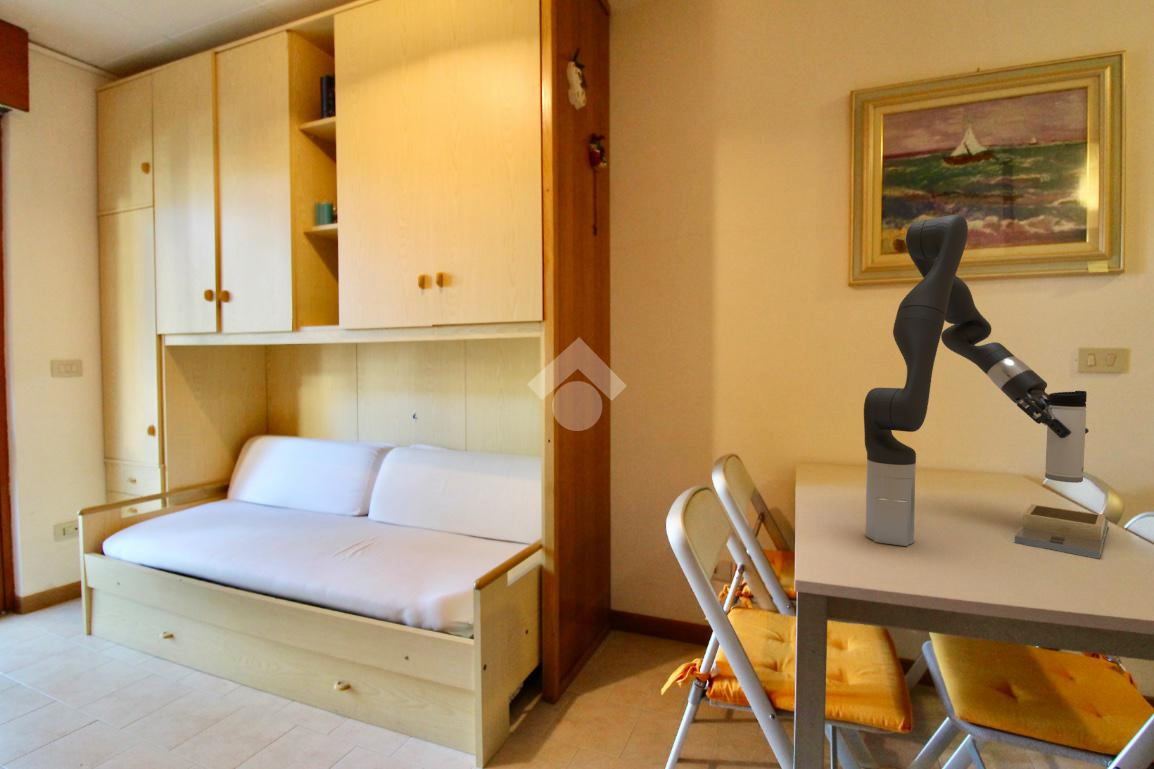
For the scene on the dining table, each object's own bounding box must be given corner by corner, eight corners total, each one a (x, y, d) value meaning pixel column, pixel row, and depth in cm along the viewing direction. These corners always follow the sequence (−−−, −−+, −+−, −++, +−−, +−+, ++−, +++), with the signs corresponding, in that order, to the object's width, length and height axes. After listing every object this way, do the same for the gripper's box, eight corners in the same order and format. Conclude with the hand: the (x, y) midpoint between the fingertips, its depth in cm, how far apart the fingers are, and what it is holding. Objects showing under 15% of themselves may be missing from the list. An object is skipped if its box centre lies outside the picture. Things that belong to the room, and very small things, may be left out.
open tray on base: (1099, 559, 104) (1100, 536, 103) (1014, 542, 113) (1015, 522, 113) (1107, 526, 124) (1108, 507, 124) (1035, 515, 134) (1035, 497, 133)
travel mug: (1092, 482, 115) (1097, 391, 114) (1061, 482, 115) (1066, 391, 114) (1066, 476, 121) (1070, 390, 120) (1037, 476, 122) (1041, 390, 121)
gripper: (1010, 369, 121) (1073, 426, 111) (1047, 368, 127) (1109, 422, 116) (984, 390, 126) (1041, 447, 116) (1020, 389, 132) (1078, 443, 121)
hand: (1075, 434), depth 116 cm, fingers closed on travel mug, 6 cm apart
